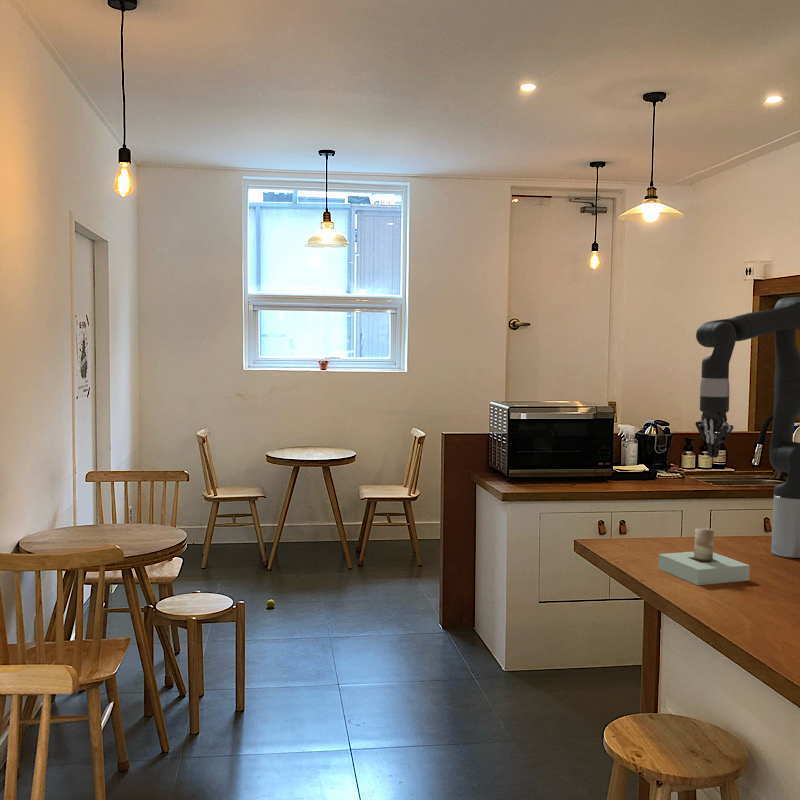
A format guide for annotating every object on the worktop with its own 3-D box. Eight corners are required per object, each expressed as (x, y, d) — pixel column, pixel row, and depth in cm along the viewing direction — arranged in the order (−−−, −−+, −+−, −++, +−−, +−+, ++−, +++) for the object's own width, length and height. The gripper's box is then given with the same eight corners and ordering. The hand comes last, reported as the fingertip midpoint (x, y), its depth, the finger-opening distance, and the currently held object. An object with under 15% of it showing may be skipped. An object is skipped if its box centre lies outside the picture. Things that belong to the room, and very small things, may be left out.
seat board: (707, 564, 225) (707, 550, 224) (749, 580, 209) (749, 565, 209) (658, 568, 220) (658, 554, 219) (697, 585, 204) (698, 569, 204)
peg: (704, 571, 217) (705, 527, 217) (716, 576, 213) (717, 531, 212) (689, 572, 216) (691, 528, 215) (701, 577, 212) (703, 532, 211)
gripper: (743, 395, 218) (741, 459, 219) (709, 392, 230) (707, 453, 232) (720, 396, 216) (718, 461, 217) (687, 393, 228) (686, 454, 229)
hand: (713, 457), depth 224 cm, fingers closed
